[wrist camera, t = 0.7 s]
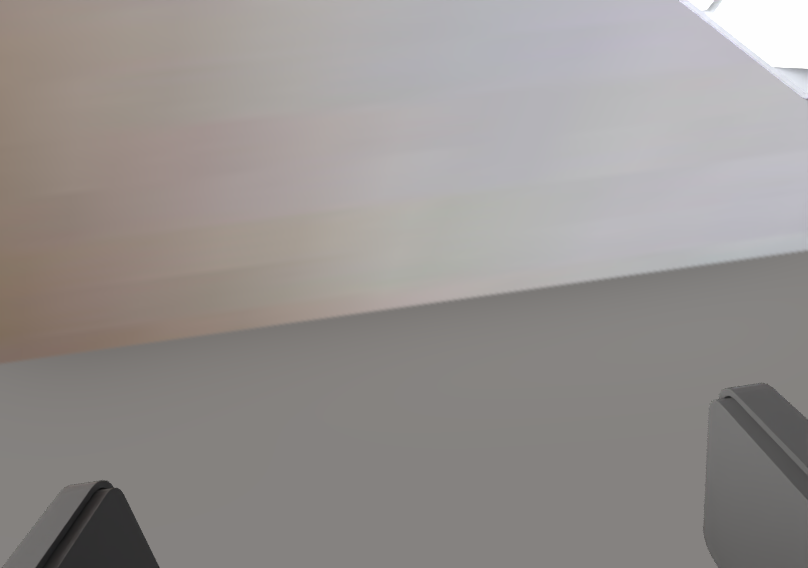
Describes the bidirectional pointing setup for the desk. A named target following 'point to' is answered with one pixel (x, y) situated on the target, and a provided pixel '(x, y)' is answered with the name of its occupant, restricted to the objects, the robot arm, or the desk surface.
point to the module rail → (764, 33)
